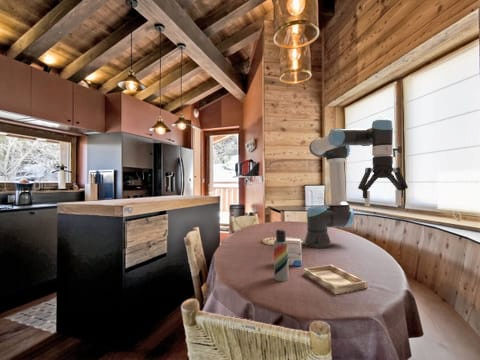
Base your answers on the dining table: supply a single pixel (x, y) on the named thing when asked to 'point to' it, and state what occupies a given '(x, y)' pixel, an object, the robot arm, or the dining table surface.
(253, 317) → the dining table surface
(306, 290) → the dining table surface
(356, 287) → the tray
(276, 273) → the lotion bottle
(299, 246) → the ink box
